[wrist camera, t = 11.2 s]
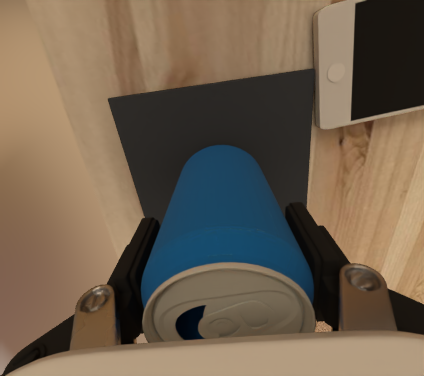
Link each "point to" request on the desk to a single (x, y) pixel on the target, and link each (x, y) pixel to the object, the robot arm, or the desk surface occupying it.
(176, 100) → the mat
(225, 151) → the beverage can
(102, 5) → the desk surface
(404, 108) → the smartphone
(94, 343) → the robot arm
